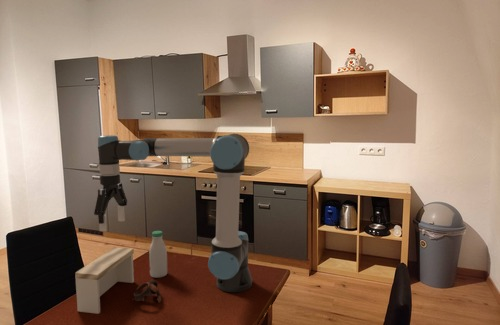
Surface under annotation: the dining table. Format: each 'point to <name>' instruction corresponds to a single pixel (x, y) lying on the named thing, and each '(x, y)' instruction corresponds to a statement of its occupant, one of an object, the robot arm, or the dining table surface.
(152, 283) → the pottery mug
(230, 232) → the robot arm
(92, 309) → the small wooden bench
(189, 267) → the dining table surface
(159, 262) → the milk bottle
